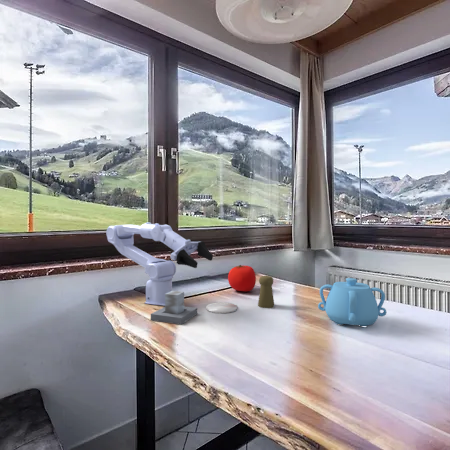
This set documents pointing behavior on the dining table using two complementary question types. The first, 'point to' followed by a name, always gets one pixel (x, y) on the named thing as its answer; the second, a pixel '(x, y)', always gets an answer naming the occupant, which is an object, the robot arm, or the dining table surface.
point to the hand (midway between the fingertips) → (204, 261)
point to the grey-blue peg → (174, 302)
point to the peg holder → (174, 315)
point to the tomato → (242, 278)
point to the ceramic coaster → (221, 307)
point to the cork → (266, 292)
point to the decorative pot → (352, 303)
